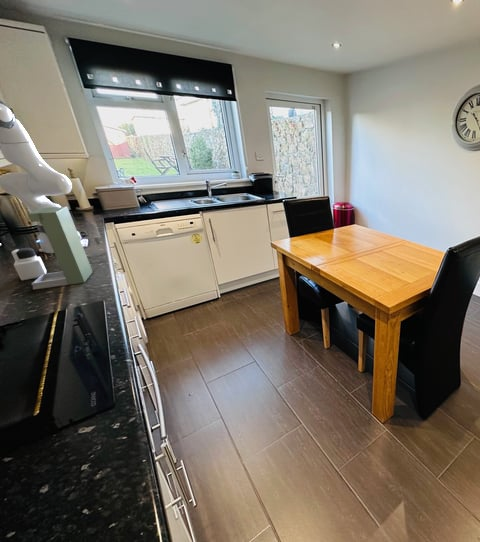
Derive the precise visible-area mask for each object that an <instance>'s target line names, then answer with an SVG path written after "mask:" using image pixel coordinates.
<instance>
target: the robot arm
mask: <svg viewBox="0 0 480 542" xmlns="http://www.w3.org/2000/svg"><path fill="white" fill-rule="evenodd" d="M0 152H1V154H2V156H3V158H4V159H5V160H6V161H7V162H8V163H10V164H13V165H15V166H18V167H20V168H21V169H22V170H24V171H25V172H10V173H4V174H2V175H0V188H1V190H2V191H3V192H5V193H6V194H7V195H11V196H13V197H14V198H17V200H19V201H20V202H22V203H23V204H24V205H25V206H26V207H27V208H28V209H29V211H30V213H31V212H33V211H35V210H38V209H40V208H49V207H62V206H61V205H60V204H59V203H55V202H53V201H51V200H50V199H48V198H47V197H56V196H63V195H67V194H70V193H71V192H72V190H73V183H72V181H71V180H70V179H69V178H68V177H67V176H66V175H65V174H62V173H61V172H58V171H57V170H55V169H53V168H52V167H51V166H49V164H47V162H45V160H44V159H43V158H42V157H41V155H40V154H39V151H37V148H36V146H35V144H34V143H33V141H32V139H31V137H30V135H29V133H28V132H27V130H26V129H25V127H24V126H23V125H22V123H21V122H20V121H19V120H18V119H17V118H16V117H15V114H14V113H13V111H12V109H11V108H10V107H9V106H8V105H7V104H6V103H5V102H4V101H2V100H0ZM36 223H37V225H36V227H37V230H38V232H40V233H39V234H38V235H37V239H38V240H35V241H36V243H39V245H40V247H41V248H39V249H38V251H39V253H45V254H55V253H54V251H53V248H52V246H51V244H50V242H49V239H48V237H47V235H46V232H45V230H44V228H43V226H42V224H41V223H40V221H39V222H36ZM77 233H78V235H79V238H80V241H81V243H82V246H83V248H84V249H85V248H88V246H89V240H88V238H82V237H86V236H88V232H86V231H82V230H81V231H78V230H77ZM1 246H2V243H0V247H1Z"/></svg>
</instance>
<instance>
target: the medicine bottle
mask: <svg viewBox="0 0 480 542" xmlns="http://www.w3.org/2000/svg"><path fill="white" fill-rule="evenodd" d="M11 255H12V257H13V259H14V263H13V267H14V269H15V271H16V273H17V275H18V276H19V279H20V280H21V281H27V280H31V279H37V278H39V277H40V276H41V275H42V274H47V269H46V267H45V263H44V262H43V260H42V258H41V256H37V254H36V252H35V250H34V249H33V248H31V247H22V248H16V249H14V250H12V251H11Z"/></svg>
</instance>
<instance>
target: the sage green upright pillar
mask: <svg viewBox="0 0 480 542" xmlns="http://www.w3.org/2000/svg"><path fill="white" fill-rule="evenodd" d="M71 215H72V214H71V213H70V210H69V207H68V206H61V207H49V208H40V209H38V210H35V211H33V212H31V211H30V212H28V213H27V216H28V218H29V220H30V222H31V223H37V222H39V221H40V223H41V224H42V226H43V228H44V230H45V232H46V235H47V237H48V239H49V242H50V244H51V246H52V248H53V251H54V253H53V254H54V256H55V257H56V260H57V262H58V265H59V267H60V269H61V271H55V272H46V274H42V275H41V276H40V277H38V278H35V280H34V281H33V282H31V286H32V290H33V291H35V290H42V289H49V288H54V287H55V288H56V287H62V286H63V287H64V286H68V285H76V284H82V283H83V284H84V283H86V282H87V280H88V279H89V277H90V276H91V275H92V273H93V269H92V266H91V263H90V261H89V259H88V256H87V254H86V250H85V247H84V248H83V246H82V243H81V241H80V238H79V235H78V233H77V231H78V230H77V228H76V226H75V222H74V220H73V218H72V216H71Z"/></svg>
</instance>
